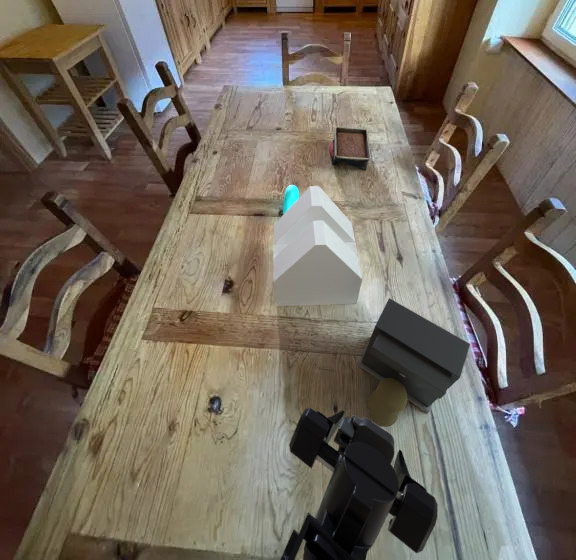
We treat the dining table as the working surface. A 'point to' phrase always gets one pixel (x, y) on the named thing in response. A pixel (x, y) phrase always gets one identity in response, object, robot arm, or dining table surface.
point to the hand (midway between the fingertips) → (370, 432)
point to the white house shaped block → (315, 254)
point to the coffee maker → (414, 354)
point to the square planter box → (350, 147)
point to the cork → (387, 402)
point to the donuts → (290, 197)
